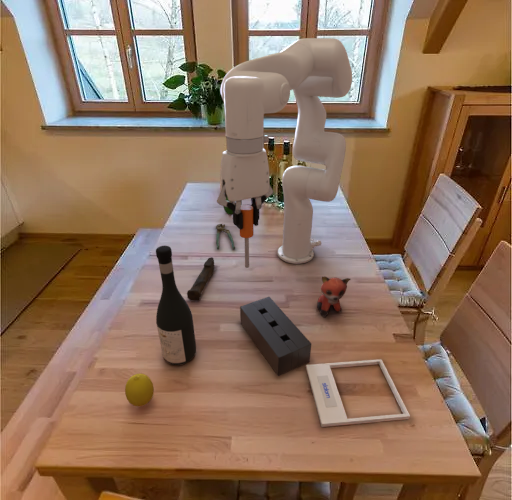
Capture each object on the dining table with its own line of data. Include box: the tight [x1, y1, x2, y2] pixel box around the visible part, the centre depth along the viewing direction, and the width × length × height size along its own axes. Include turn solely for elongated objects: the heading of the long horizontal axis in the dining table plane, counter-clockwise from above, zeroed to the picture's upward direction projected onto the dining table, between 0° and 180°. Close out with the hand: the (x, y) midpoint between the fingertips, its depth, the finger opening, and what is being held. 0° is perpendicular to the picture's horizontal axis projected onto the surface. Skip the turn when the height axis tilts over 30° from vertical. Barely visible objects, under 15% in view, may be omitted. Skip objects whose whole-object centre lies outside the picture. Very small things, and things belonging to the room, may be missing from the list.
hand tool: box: [186, 256, 215, 302], centre depth 109 cm, size 19×4×5 cm, turn 166°
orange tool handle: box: [239, 204, 254, 269], centre depth 83 cm, size 3×3×16 cm
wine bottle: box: [155, 245, 197, 366], centre depth 78 cm, size 8×8×30 cm
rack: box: [239, 296, 312, 377], centre depth 88 cm, size 9×19×6 cm, turn 28°
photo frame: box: [305, 358, 411, 428], centre depth 76 cm, size 15×1×18 cm
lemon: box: [124, 373, 155, 407], centre depth 73 cm, size 6×6×8 cm
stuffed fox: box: [316, 275, 351, 318], centre depth 98 cm, size 8×11×12 cm
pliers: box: [215, 223, 236, 251], centre depth 135 cm, size 20×6×1 cm, turn 9°
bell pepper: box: [222, 197, 243, 216], centre depth 152 cm, size 8×8×10 cm
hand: (246, 224), depth 81 cm, fingers closed on orange tool handle, 3 cm apart
